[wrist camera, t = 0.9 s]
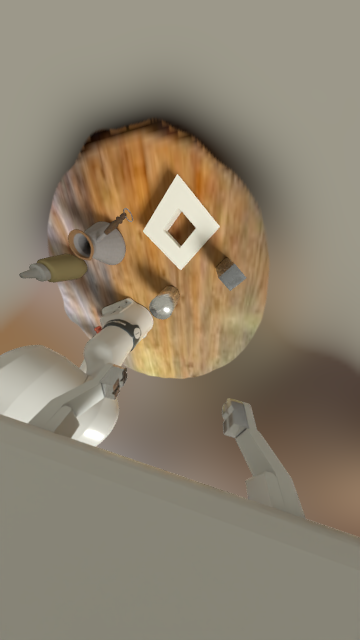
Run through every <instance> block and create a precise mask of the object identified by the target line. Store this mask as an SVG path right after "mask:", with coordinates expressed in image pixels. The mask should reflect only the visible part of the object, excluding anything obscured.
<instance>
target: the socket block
mask: <svg viewBox="0 0 360 640" xmlns="http://www.w3.org/2000/svg"><path fill="white" fill-rule="evenodd" d="M181 212H183V213H184V215H185V216H186V217H187V218H188V219H189V220H190V222H191V223H192V224H193V225H194V226H195V227H196V229H195V230H194V231H193V233H192V234H191V235H190V236H189V237H188V239H187V240H186V241H185V242H184V244H183V245H182V246H181V245H180V244H179V243H178V242H177V241H176V240H175V239H174V238H173V237H172V235H171V234H170V233H169V232H168V230H169V229H170V227H171V226H172V225H173V223H174V222H175V220H176V219H177V217H178V216H179V215H180V213H181ZM219 227H220V226H219V225H218V224H217V223H216V221H215V220H214V219H213V218H212V216H211V215H210V214H209V213H208V211H207V210H206V209H205V208H204V206H203V205H202V204H201V203H200V201H199V200H198V199H197V198H196V196H195V195H194V194H193V193H192V191H191V190H190V189H189V188H188V186H187V185H186V184H185V183H184V181H183V180H182V179H181V178H180V176H179V175H178V174H177V175H176V177H175V179H174V180H173V182H172V184H171V185H170V187H169V189H168V190H167V192H166V194H165V195H164V197H163V199H162V200H161V202H160V204H159V205H158V207H157V209H156V210H155V212H154V214H153V215H152V217H151V219H150V220H149V222H148V224H147V225H146V227H145V229H144V230H143V232H144V233H145V234H146V235H147V236H148V237H149V238H150V239H151V240H152V241H153V242H154V243H155V244H156V245H157V246H158V248H159V249H160V250H161V251H162V252H163V253H164V254H165V255H166V256H167V257H168V258H169V259H170V260H171V261H172V262H173V263H174V264H175V265H176V266H177V267H178V268H179V269H180V270H181V269H182V268H183V267H184V266H185V265H186V264H187V263H188V262H189V261H190V260H191V258H192V257H193V256H194V255H195V254H196V253H197V252H198V251H199V249H200V248H201V247H202V246H203V245H204V244H205V243H206V242H207V241H208V239H209V238H210V237H211V236H212V235H213V234H214V233H215V232H216V231H217V229H218V228H219Z"/></svg>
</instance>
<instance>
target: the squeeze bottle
mask: <svg viewBox="0 0 360 640" xmlns="http://www.w3.org/2000/svg"><path fill="white" fill-rule="evenodd" d="M29 268H30V270H28V271H25V272H23V273H20V274H19V275H20V277H21V278H36V279H37V280H39V281H49V282H60V281H66V280H73V279H78V278H81V277H82V276H83V275H84V274H85V273H86V272H87V265H86V263H85V261H84V260H83V259H81V258H79V257H77V256H74V255H70V254H62V255H58V256H53V257H48V258H44V259H40V260H38V261H37V263H36V264H31V265H30V267H29Z"/></svg>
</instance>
